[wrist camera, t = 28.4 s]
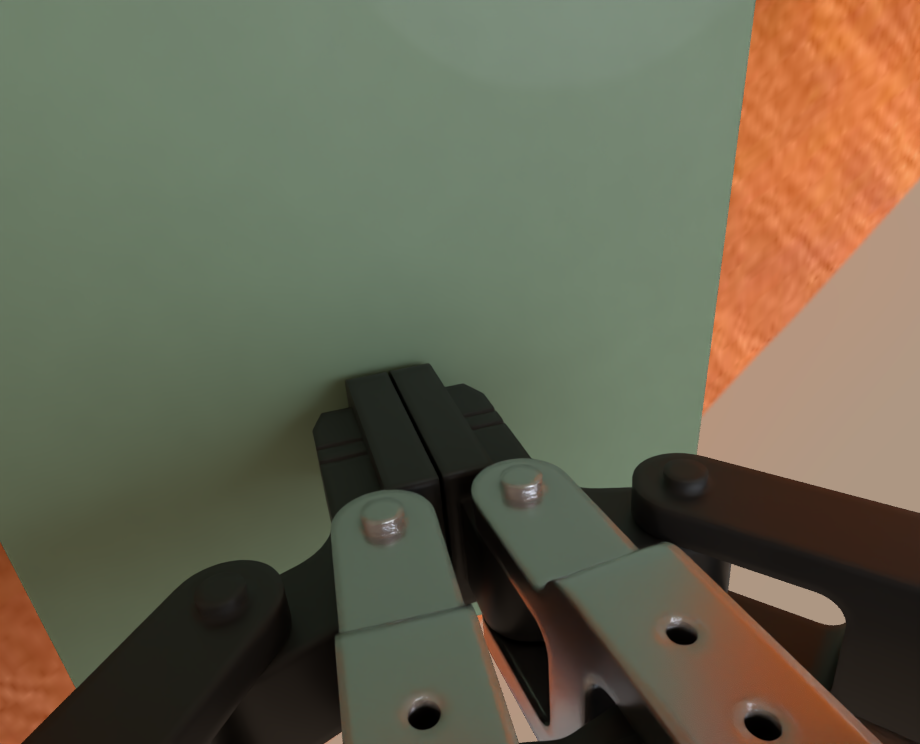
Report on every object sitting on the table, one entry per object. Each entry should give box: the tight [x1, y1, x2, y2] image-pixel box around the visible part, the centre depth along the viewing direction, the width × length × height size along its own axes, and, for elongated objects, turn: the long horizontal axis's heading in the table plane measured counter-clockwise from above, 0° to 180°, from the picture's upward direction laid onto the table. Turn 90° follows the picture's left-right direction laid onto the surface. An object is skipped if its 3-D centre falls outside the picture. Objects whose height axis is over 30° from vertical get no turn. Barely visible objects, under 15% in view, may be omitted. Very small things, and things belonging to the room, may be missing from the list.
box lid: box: [0, 0, 756, 688], centre depth 11 cm, size 18×13×1 cm
